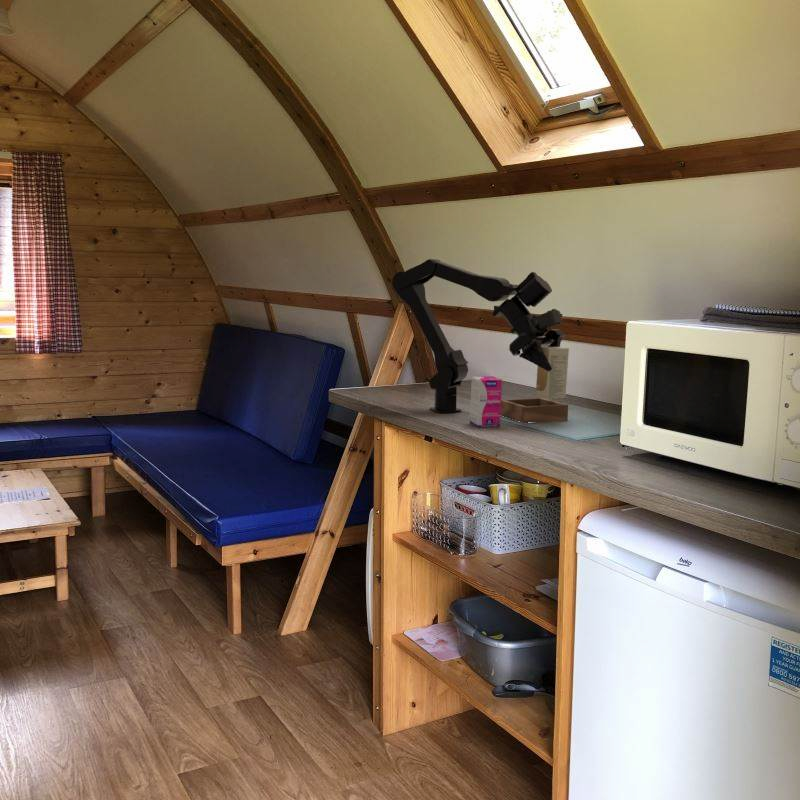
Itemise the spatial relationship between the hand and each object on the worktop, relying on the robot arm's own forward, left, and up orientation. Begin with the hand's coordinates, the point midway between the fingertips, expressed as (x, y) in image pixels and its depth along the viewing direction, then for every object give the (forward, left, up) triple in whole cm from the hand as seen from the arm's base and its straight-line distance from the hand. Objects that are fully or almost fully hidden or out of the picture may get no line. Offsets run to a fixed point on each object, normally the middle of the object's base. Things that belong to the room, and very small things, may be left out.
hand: (557, 368), depth 214 cm
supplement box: (-4, -17, -14) cm, 22 cm away
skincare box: (-1, -1, -7) cm, 7 cm away
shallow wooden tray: (-8, -1, -13) cm, 16 cm away
